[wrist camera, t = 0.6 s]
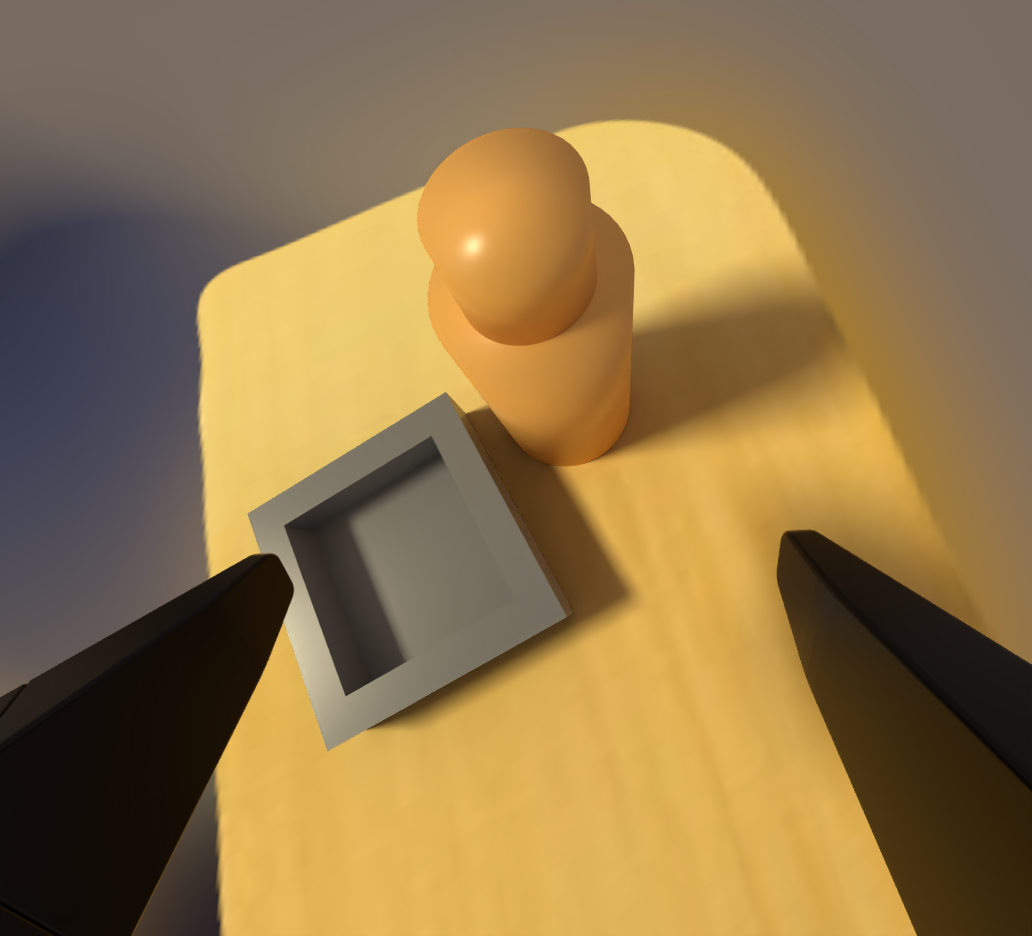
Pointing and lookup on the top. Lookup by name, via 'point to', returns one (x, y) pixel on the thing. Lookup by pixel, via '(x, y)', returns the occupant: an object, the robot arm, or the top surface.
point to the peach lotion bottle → (532, 291)
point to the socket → (404, 569)
